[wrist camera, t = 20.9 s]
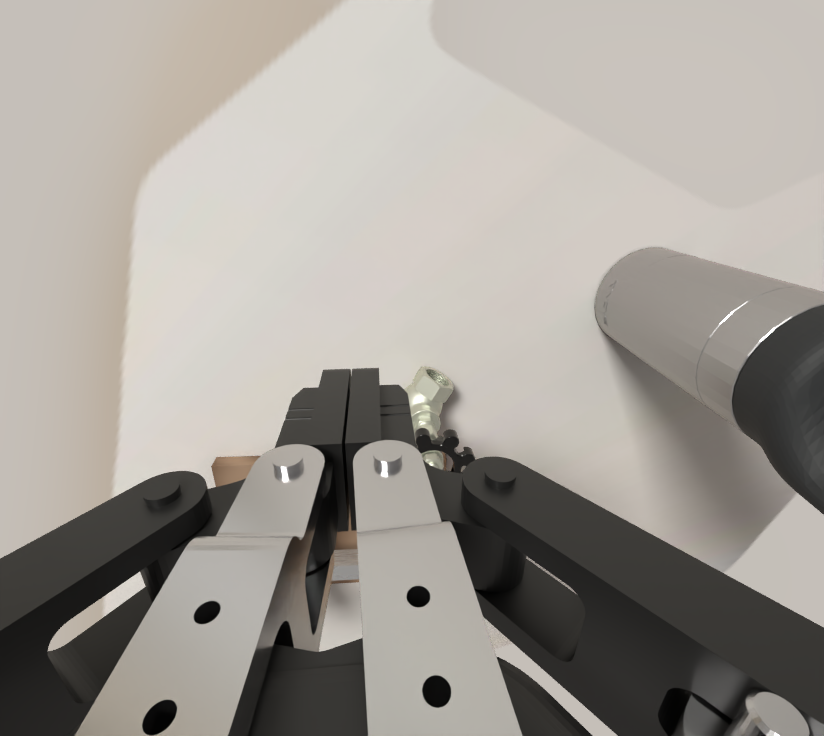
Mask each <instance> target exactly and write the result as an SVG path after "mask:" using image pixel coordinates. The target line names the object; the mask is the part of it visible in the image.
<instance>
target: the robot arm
mask: <svg viewBox="0 0 824 736" xmlns="http://www.w3.org/2000/svg"><path fill="white" fill-rule="evenodd" d="M595 313H596V318H597V321H598V324H599V326H600V327H601V328H602V330H603V331H604V332H605V333H606V334H607V335H608V336H610V337H611V338H612V339H614V340H615V341H616V342H618V343H619V344H621V345H622V346H623V347H625V348H626V349H627V350H629V351H630V352H631V353H633V354H634V355H635V356H637V357H638V358H640V359H641V360H642V361H644V362H645V363H647V364H648V365H649V366H651V367H652V368H654V369H655V370H656V371H658V372H659V373H661V374H662V375H663V376H665V377H666V378H667V379H669V380H670V381H672V382H673V383H674V384H676V385H677V386H679V387H680V388H681V389H683V390H684V391H686V392H687V393H688V394H690V395H691V396H693V397H694V398H695V399H697V400H698V401H700V402H701V403H702V404H704V405H705V406H706V407H708V408H709V409H711V410H712V411H714V412H715V413H717V414H718V415H719V416H721V417H722V418H724V419H725V420H726V421H728V422H729V423H731V424H732V425H733V426H735V427H736V428H737V429H739V430H740V431H742V432H743V433H745V434H746V435H747V436H749V437H750V438H751V439H753V440H754V441H755V442H757V443H758V444H759V445H760V446H761V447H762V449H763V450H764V452H765V454H766V456H767V458H768V459H769V461H770V463H771V464H772V466H773V467H774V469H775V470H776V471H777V473H778V474H779V475H780V476H781V477H782V478H783V479H784V480H785V481H786V482H787V483H788V484H789V485H790V486H791V487H792V488H793V489H794V490H795V491H796V492H797V493H799V494H800V495H801V496H802V497H803V498H804V499H806V500H807V501H808V502H809V503H810V504H812V505H813V506H814V507H815V508H817V509H818V510H819V511H820V512H821V513H822V514H824V292H822V291H819V290H815V289H811V288H807V287H803V286H799V285H796V284H792V283H788V282H785V281H781V280H778V279H774V278H770V277H767V276H763V275H759V274H756V273H752V272H748V271H745V270H741V269H737V268H734V267H730V266H726V265H723V264H719V263H715V262H712V261H708V260H705V259H701V258H698V257H694V256H691V255H687V254H683V253H679V252H675V251H672V250H668V249H664V248H646V249H641V250H638V251H636V252H634V253H631V254H629V255H628V256H626V257H624V258H623V259H621V260H620V261H619V262H618V263H617V264H615V265H614V266H613V267H612V268H611V269H610V271H609V272H608V273H607V275H606V276H605V277H604V279H603V281H602V283H601V285H600V286H599V289H598V292H597V295H596V301H595ZM349 515H350V517H351V531H356V530H357V547H358V565H359V583H360V600H361V618H362V635H363V638H361V639H359V640H356V641H353V642H350V643H347V644H344V645H341V646H338V647H335V648H333V649H330V650H326V651H321V652H319V646H320V640H321V634H322V629H323V624H324V618H325V613H326V607H327V602H328V596H329V591H330V586H331V580H332V575H333V569H334V562H335V559H334V550H335V546H336V537H337V532H342V531H348V530H349ZM526 556H528V557H529V558H530V559H532V560H533V561H535V562H536V563H537V564H539V565H540V566H542V567H543V568H545V569H546V570H547V571H549V572H550V573H552V574H553V575H555V576H556V577H557V578H559V579H560V580H562V581H563V582H564V583H566V584H567V585H569V586H570V587H571V588H572V589H573V590H574V591H575V592H576V593H577V594H575V593H574V592H572V591H571V590H570V589H568V588H567V587H565V586H564V585H562V584H561V583H560V582H558V581H557V580H555V579H554V578H553V577H551V576H550V575H548V574H547V573H546V572H544V571H543V570H541V569H540V568H539V567H537V566H536V565H534V564H533V563H531V562H530V561H529V560H527V559H526ZM138 572H141V575H142V578H143V580H144V583H145V586H146V587H145V588H143V589H142V590H141V591H139V592H138V593H136V594H135V595H134V596H132V597H131V598H130V599H128V600H127V601H125V602H124V603H123V604H121V605H120V606H119V607H117V608H116V609H114V610H113V611H112V612H110V613H109V614H108V615H106V616H105V617H103V618H102V619H101V620H99V621H98V622H96V623H95V624H94V625H92V626H91V627H90V628H88V629H87V630H85V631H84V632H83V633H82V634H80V635H79V636H77V637H76V638H74V639H73V640H72V641H70V642H69V643H67V644H66V645H64V646H62V647H61V648H58V649H56V650H53V651H48V646H49V643H50V641H51V639H52V638H53V636H54V635H55V633H56V632H57V631H58V630H59V629H60V627H62V626H63V625H64V624H65V623H66V622H67V621H69V620H70V619H71V618H73V617H74V616H76V615H77V614H79V613H80V612H82V611H83V610H84V609H86V608H87V607H88V606H90V605H92V604H93V603H95V602H96V601H97V600H99V599H100V598H102V597H103V596H105V595H106V594H108V593H109V592H111V591H112V590H113V589H115V588H116V587H118V586H119V585H121V584H122V583H124V582H125V581H127V580H128V579H129V578H131V577H132V576H134V575H135V574H137V573H138ZM483 617H484V618H485V619H487V620H488V621H489V622H490V623H491V624H492V625H493V626H494V627H496V628H497V629H498V630H499V631H500V632H501V633H502V634H503V635H505V636H506V637H507V638H508V639H509V640H510V641H511V642H513V643H514V644H515V645H516V646H517V647H518V648H520V650H522V651H523V652H524V653H525V654H526V655H527V656H528V657H530V658H531V659H532V660H533V661H534V662H535V663H537V664H538V665H539V666H540V667H541V668H542V669H543V670H544V671H545V672H547V673H548V674H549V675H550V676H551V677H552V678H553V679H555V680H556V681H557V682H558V683H559V684H560V685H561V686H562V687H564V688H565V689H566V690H567V691H568V692H570V693H571V695H573V696H574V697H575V698H576V699H577V700H578V701H579V702H581V703H582V704H583V705H584V706H585V707H586V708H587V709H588V710H590V711H591V712H592V713H593V714H594V715H595V716H596V717H597V718H599V719H600V720H601V721H602V722H603V723H604V724H605V725H607V726H608V727H609V728H610V729H611V730H612V731H613V732H614V733H616V734H617V735H618V736H824V628H823V627H821V626H820V625H818V624H816V623H814V622H812V621H810V620H809V619H807V618H805V617H803V616H801V615H799V614H797V613H795V612H794V611H792V610H790V609H788V608H786V607H784V606H782V605H781V604H779V603H777V602H775V601H774V600H772V599H770V598H768V597H766V596H764V595H762V594H761V593H759V592H757V591H755V590H753V589H751V588H749V587H748V586H746V585H744V584H742V583H740V582H738V581H736V580H735V579H733V578H731V577H729V576H727V575H725V574H724V573H722V572H720V571H718V570H716V569H714V568H713V567H711V566H709V565H707V564H705V563H703V562H701V561H700V560H698V559H696V558H694V557H692V556H690V555H689V554H687V553H685V552H683V551H681V550H679V549H677V548H676V547H674V546H672V545H670V544H668V543H666V542H665V541H663V540H661V539H659V538H657V537H655V536H653V535H652V534H650V533H648V532H646V531H644V530H642V529H641V528H639V527H637V526H635V525H633V524H631V523H629V522H628V521H626V520H624V519H622V518H620V517H618V516H617V515H615V514H613V513H611V512H609V511H607V510H605V509H604V508H602V507H600V506H598V505H596V504H594V503H592V502H591V501H589V500H587V499H585V498H583V497H581V496H580V495H578V494H576V493H574V492H572V491H570V490H568V489H567V488H565V487H563V486H561V485H559V484H557V483H556V482H554V481H552V480H550V479H548V478H546V477H544V476H543V475H541V474H539V473H537V472H535V471H533V470H532V469H530V468H528V467H526V466H524V465H522V464H520V463H518V462H516V461H514V460H511V459H507V458H502V457H484V458H480V459H477V460H474V461H473V462H471V463H470V464H468V465H467V466H466V468H465V469H464V471H463V474H461V473H455V472H449V471H445V470H441V469H438V468H436V467H433V466H431V465H430V464H428V463H426V462H425V461H424V460H423V458H422V456H421V453H420V452H419V451H418V450H417V447H416V441H415V435H414V429H413V423H412V417H411V410H410V405H409V398H408V393H407V392H406V391H405V390H404V389H403V388H401V387H400V386H399V385H379V368H364V369H352V377H351V370H350V369H334V370H323V372H322V377H321V381H320V385H319V388H303V389H302V390H301V391H300V392H299V393H297V394H296V395H295V396H294V397H293V398H292V401H291V403H290V406H289V411H288V412H287V415H286V418H285V421H284V423H283V426H282V429H281V432H280V435H279V438H278V441H277V443H276V446H275V448H274V449H272V450H270V451H268V452H266V453H264V454H263V455H262V456H260V457H259V458H258V459H257V460H256V461H255V463H254V464H253V466H252V468H251V470H250V472H249V474H248V476H247V478H245V479H243V480H240V481H237V482H234V483H230V484H226V485H222V486H218V487H215V488H211V489H207V485H206V481H205V480H204V478H203V477H202V476H201V475H199V474H197V473H194V472H189V471H176V472H169V473H164V474H161V475H158V476H155V477H152V478H150V479H148V480H146V481H144V482H142V483H140V484H138V485H136V486H134V487H132V488H131V489H129V490H127V491H125V492H123V493H121V494H119V495H118V496H116V497H114V498H112V499H110V500H108V501H107V502H105V503H103V504H101V505H99V506H97V507H95V508H94V509H92V510H90V511H88V512H86V513H84V514H82V515H81V516H79V517H77V518H75V519H73V520H71V521H69V522H68V523H66V524H64V525H62V526H60V527H58V528H57V529H55V530H53V531H51V532H49V533H47V534H45V535H43V536H42V537H40V538H38V539H36V540H34V541H32V542H30V543H29V544H27V545H25V546H23V547H21V548H19V549H17V550H16V551H14V552H12V553H10V554H8V555H6V556H4V557H3V558H1V559H0V736H592V735H591V734H590V733H589V732H588V731H587V730H586V729H585V728H584V727H583V726H582V725H581V724H580V723H579V722H578V721H577V720H576V719H574V717H573V716H571V714H570V713H568V712H567V711H566V710H565V709H564V708H563V707H562V706H561V705H560V704H559V703H558V702H557V701H556V700H555V699H554V698H553V697H552V696H551V695H550V694H549V693H548V692H547V691H546V690H545V689H543V688H542V687H541V686H540V685H539V684H538V683H537V682H535V681H534V680H533V679H532V678H530V677H529V676H528V675H526V674H525V673H524V672H523V671H521V670H520V669H518V668H517V667H515V666H513V665H511V664H510V663H508V662H507V661H505V660H503V659H501V658H499V657H496V654H495V651H494V648H493V645H492V642H491V639H490V636H489V633H488V630H487V627H486V624H485V621H484V618H483ZM47 651H48V652H47Z"/></svg>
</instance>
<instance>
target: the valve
mask: <svg viewBox="0 0 824 736" xmlns="http://www.w3.org/2000/svg"><path fill="white" fill-rule="evenodd" d="M413 381H414V383H412V384H411V385H409V386H408V387H407V388H406V389H405V391H406V392H407V393H408V398H409V405H410V410H411V417H412V423H413V429H414V435H415V441H416V444H417V445H416V447H417V450H418V451H419V452H420V453H421V456H422V458H423V460H424V461H425V462H426V463H428V464H430V465H431V466H433V467H436V468H438V469H441V470H444V465H443V461H444V459H443V454H442V452H444V453H446V454H448V455H449V456H450V457H451V458H452V460H453V467H452V469H451V471H450V472H455V473H461V474H463V472H461V468H462V466H467V465H468V464H470V463H471V462H473V461H474V460H475V457H474V454H473V451H472V449H471V448H469V447H464V451H463V452H461V453H458V452H457V451H456V449H455V448H456V447H457V446H458V444H459V439H458V436H457V433H456V432H455V431H454V430H446V431H445V432H444V433H443V434H444V437H442V436H439V437H438V436H437V432H438V431H439V429H440V426H441V421H440V417H439V415H440V413H441V410H442V406H443V403H445V402H446V401H447V399H448V398H449V396H450V395H451V393H452V392H453V384H452V382H451V381H450V380H449V379H448V378H447V377H446V376H445V375H444V374H442V373H441V372H439V371H437V370H435V369H433V368H430V367H421V368H420V369H419V371H418V373H417V374H416V376H415V377H414V379H413ZM463 471H464V470H463Z"/></svg>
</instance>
